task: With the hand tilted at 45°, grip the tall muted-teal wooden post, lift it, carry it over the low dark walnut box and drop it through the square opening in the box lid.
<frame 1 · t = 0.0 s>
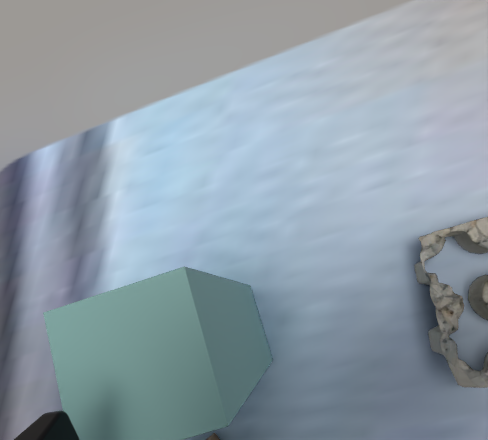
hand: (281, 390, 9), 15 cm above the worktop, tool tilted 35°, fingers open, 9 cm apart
teal post: (225, 333, 24), on the worktop
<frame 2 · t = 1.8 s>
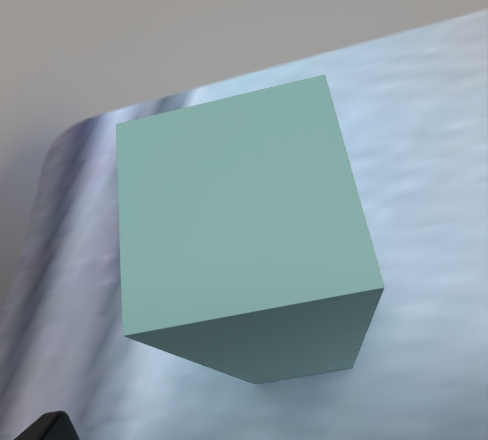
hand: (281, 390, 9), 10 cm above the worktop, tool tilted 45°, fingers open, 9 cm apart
teal post: (294, 327, 19), on the worktop
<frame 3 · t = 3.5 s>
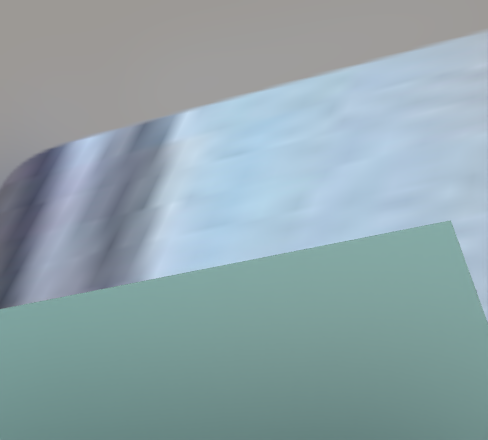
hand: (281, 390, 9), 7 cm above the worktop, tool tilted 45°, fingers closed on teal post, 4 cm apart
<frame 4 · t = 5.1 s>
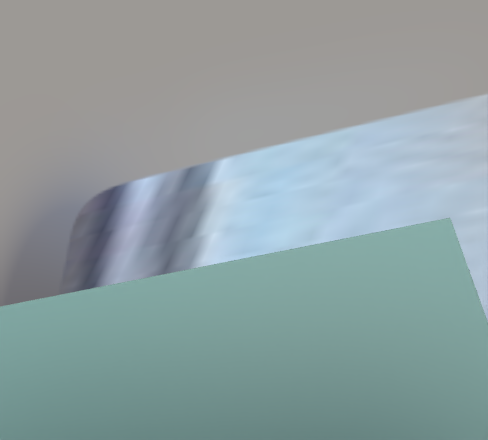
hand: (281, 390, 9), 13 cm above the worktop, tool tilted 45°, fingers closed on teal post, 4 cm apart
when the fingers open (10 cm above the worktop, at t = 7.0 s): teal post drops 4 cm, resting on walnut box.
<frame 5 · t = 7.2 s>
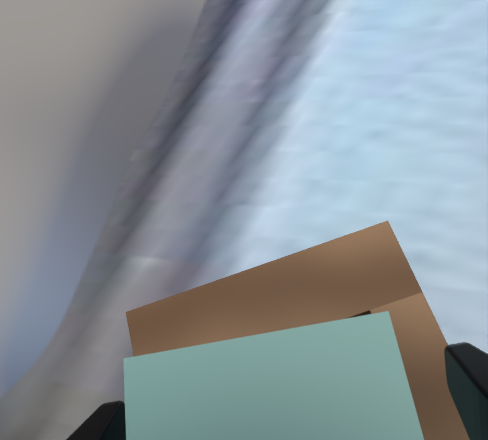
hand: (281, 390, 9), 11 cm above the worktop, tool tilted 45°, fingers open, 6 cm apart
walnut box: (315, 437, 18), on the worktop
teal post: (314, 437, 18), resting on walnut box
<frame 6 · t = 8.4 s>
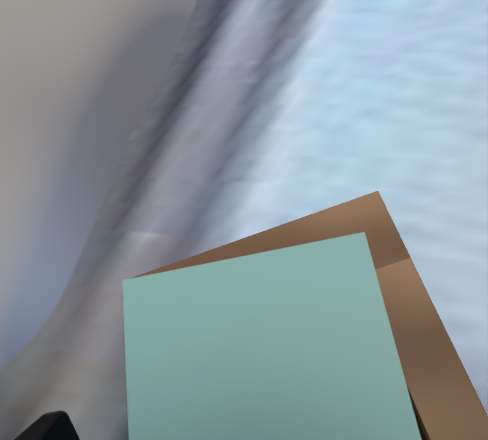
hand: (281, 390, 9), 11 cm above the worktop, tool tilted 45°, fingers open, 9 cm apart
walnut box: (308, 400, 19), on the worktop
teal post: (306, 399, 18), resting on walnut box
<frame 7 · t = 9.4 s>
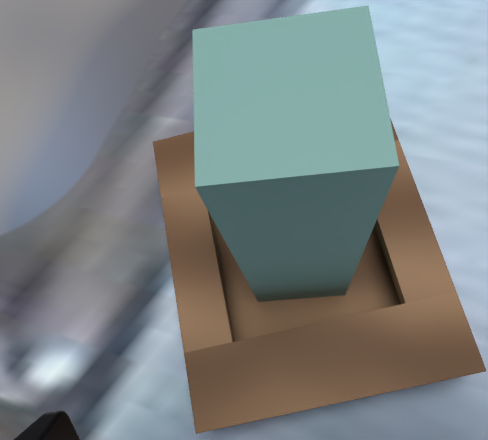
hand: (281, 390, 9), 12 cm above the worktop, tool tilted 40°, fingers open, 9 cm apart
walnut box: (298, 259, 22), on the worktop
teal post: (297, 256, 22), resting on walnut box
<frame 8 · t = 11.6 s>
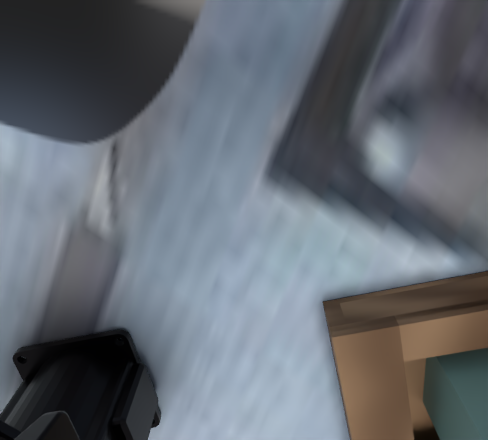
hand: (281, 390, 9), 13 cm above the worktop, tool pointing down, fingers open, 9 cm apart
walnut box: (459, 365, 24), on the worktop
teal post: (463, 370, 24), resting on walnut box
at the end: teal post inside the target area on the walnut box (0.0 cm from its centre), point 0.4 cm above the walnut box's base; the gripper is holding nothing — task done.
